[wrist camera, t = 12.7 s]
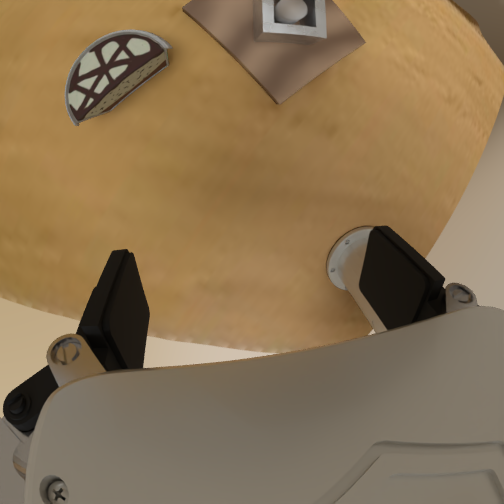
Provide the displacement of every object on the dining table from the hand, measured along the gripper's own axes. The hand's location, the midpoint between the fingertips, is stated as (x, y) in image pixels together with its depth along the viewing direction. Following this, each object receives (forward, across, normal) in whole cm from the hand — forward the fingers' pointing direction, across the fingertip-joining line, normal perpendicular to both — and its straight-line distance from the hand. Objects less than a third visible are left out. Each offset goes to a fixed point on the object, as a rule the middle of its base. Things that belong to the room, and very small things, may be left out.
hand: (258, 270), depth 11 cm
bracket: (+27, -8, -19) cm, 34 cm away
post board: (+28, -8, -17) cm, 34 cm away
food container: (+28, +11, -12) cm, 33 cm away
